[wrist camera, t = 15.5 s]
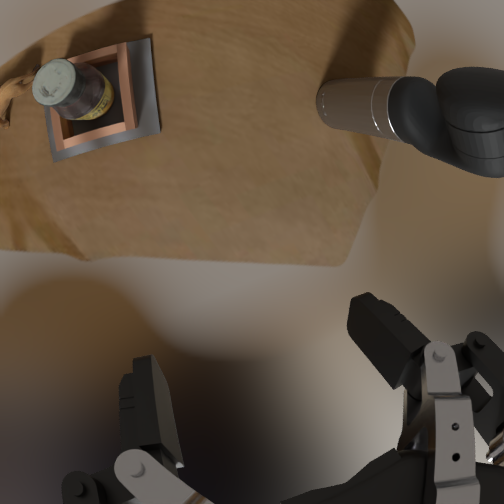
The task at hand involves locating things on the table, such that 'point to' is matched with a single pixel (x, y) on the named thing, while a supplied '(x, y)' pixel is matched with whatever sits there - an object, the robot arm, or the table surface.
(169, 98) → the table surface
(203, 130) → the table surface
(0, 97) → the lion figurine
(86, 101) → the sauce bottle
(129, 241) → the table surface
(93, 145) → the bottle holder
